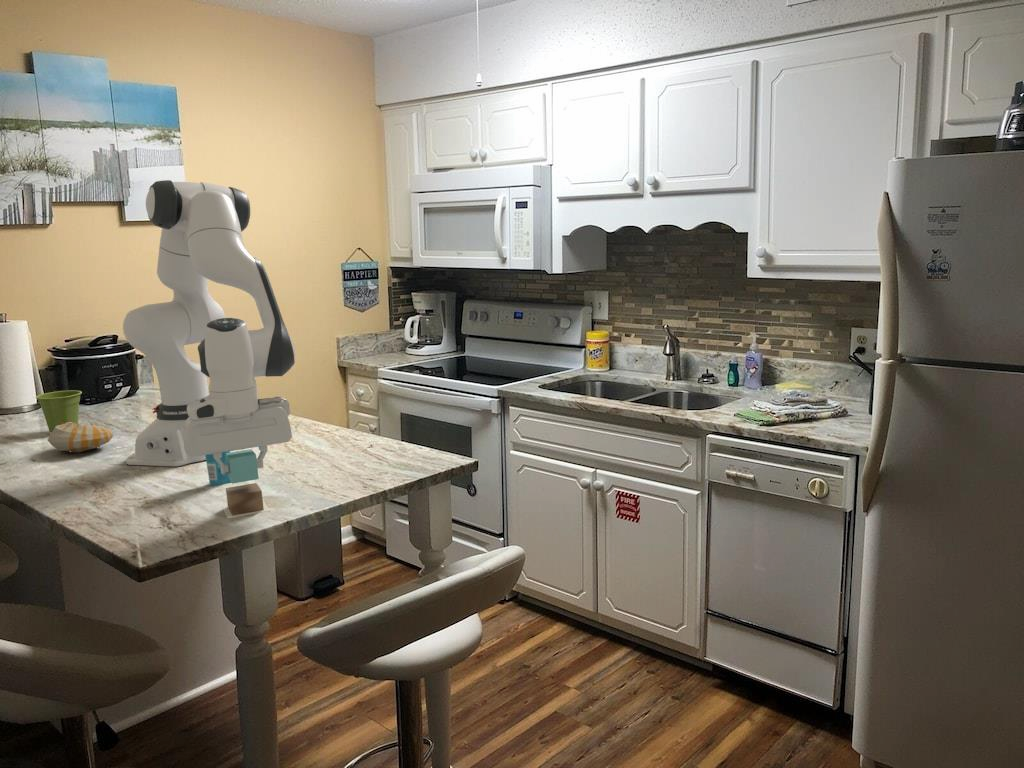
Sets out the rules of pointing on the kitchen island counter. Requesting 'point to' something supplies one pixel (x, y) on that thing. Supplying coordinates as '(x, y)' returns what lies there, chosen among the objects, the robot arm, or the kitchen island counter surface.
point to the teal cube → (242, 466)
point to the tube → (216, 470)
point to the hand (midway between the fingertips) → (242, 470)
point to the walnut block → (244, 499)
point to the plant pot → (60, 407)
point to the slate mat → (245, 513)
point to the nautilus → (79, 436)
